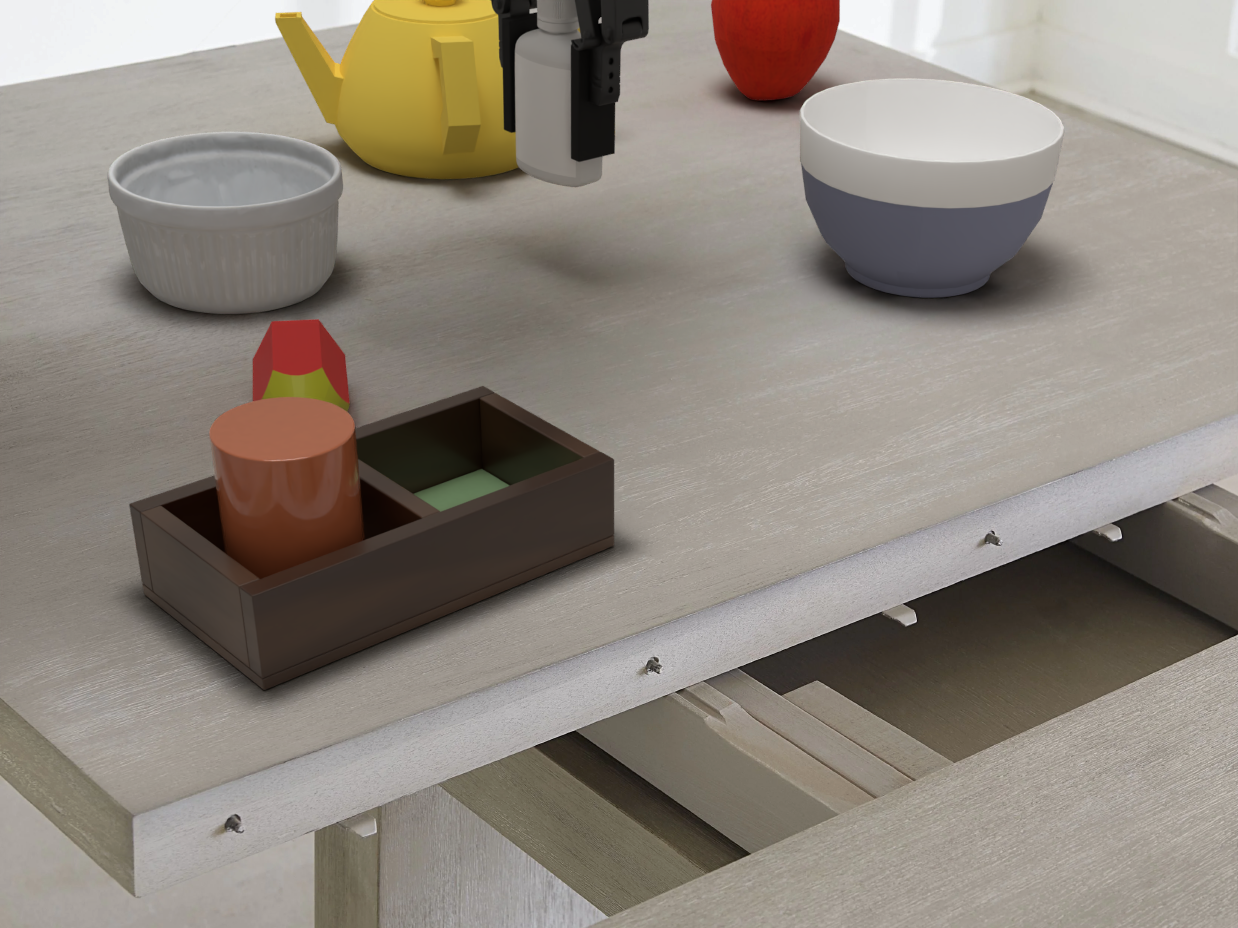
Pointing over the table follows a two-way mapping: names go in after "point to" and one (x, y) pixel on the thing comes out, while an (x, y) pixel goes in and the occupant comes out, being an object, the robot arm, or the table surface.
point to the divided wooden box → (389, 537)
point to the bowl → (926, 179)
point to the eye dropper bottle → (548, 99)
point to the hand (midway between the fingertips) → (558, 140)
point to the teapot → (414, 87)
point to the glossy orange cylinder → (286, 482)
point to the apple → (774, 43)
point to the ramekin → (229, 219)
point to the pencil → (300, 364)
